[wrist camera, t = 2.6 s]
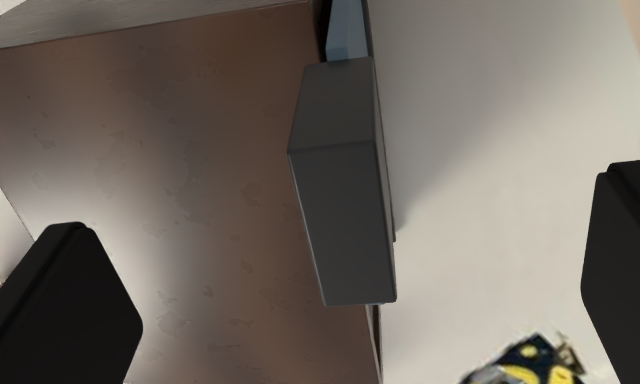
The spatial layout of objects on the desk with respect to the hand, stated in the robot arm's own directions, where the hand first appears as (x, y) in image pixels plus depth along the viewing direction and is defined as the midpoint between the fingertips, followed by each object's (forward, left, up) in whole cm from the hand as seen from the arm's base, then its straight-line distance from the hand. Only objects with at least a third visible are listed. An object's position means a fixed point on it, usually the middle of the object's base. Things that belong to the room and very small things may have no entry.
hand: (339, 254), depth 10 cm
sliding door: (0, +2, -17) cm, 17 cm away
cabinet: (+6, +6, -18) cm, 20 cm away
